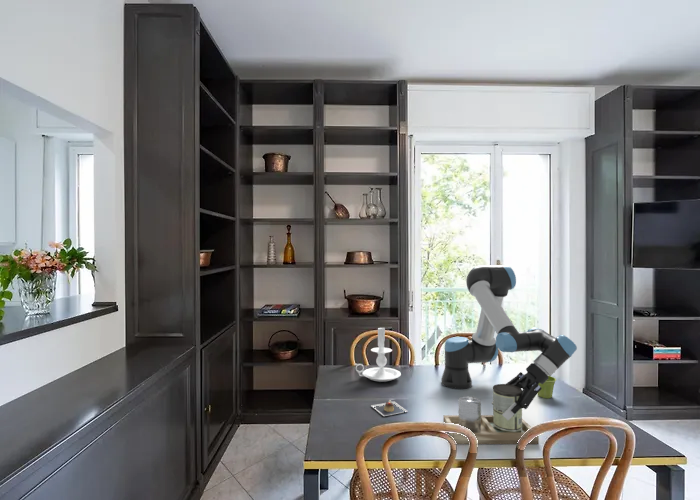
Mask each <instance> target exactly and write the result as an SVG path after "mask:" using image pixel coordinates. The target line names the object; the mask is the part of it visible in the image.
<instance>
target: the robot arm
mask: <svg viewBox="0 0 700 500" xmlns="http://www.w3.org/2000/svg"><path fill="white" fill-rule="evenodd" d="M465 281H466V283H465V284H466V288H467V290H468V292H469V294H470V295H471V296H473V297H474V298H475V299H476V300H477V303H478V304H479V306H480V308H481V310H480V314H479V317H478V323H477V327H476V331H475V332H473V333H472V335H471V339H468V337H465V336H453V337H449V338H447V339H446V340H445V342H444V370H443V373H442V375H441V382H440V383H441V385H442V386H445V387H447V388H449V389H457V390H464V389H469V388H472V386H473V380H472V377H471V374H470V372H469V371H470V370H469V364H478V363H484V364H486V363H490V362H494V361H495V360H496V359H497V358H498V356H499V351H500V352H503V353H515V352H534V351H535V352H536V351H537V352H538V351H539V352H541V353H539V355H538V356H537V357H536V358H535V359H534V360H533V362H531V363H530V364H529V365H528V366H527V367H526V368H525V370H526V373H525V374H524V373H523V372H522V371H521V372H519V373H517V375H516V376H514V377H513V378H512V379H511V380H509V381H508V382H507V383H505V384H509V385H514V386H517V387H519V388H521V389H522V392H521V394H520V396H519V398H518V401H515V402H516V403H517V404H516V403H515V402H514V403H513V404H512V405H511V406H510V407H509V408H508V409H507V410H506V411H505V412H504V413H503V414H502V415H503V416H504V417H505V418H506V419H507V420H509V419H510V418H511V417H512V416H513V415H514V414H516V413H517V412H518V411H519V410H520V409H521V408H522V409H524V410H527V409H529V406H530V405H531V404H532V402H533V400H534V399H535V398H536V396H538V394H537V393H538V392H539V391H540V390H541V389H542V388H541V387H540V386H539V385H538V384H539V383H540V384H544V383H545V382H546V381H547V380H548V379H549V377H548V376H551V377H552V375H554V374H556V372H557V370H558V369H559V368H561V367H562V365H563V364H564V363H565V362H567V361H568V360H569V359H570V358H571V357H572V356H573V354H574V353H575V352H576V351H577V349H578V347H577V345H576V344H575V342H574V341H573V340H572V339H571V338H569V337H568V336H566V335H564V334H559V335H558V336H556V337H554V335H551V334H550V333H548V332H546V331H545V330H544V329H541V328H539V327H531V328H530V329H528V330H527V331H519V330H518V329H517V328H516V326H515V325H514V323H513V321H511V318H510V317H509V315H508V314H507V313H506V312H505V310H504V308H503V307H502V305H503V299H504V298H506V297H507V296H508V293H509V290H511V291H512V290H513V289H515V287H516V284H517V277H516V274H515V271H514V269H513V268H512V267H511V266H509V265H502V264H499V265H485V264H484V265H477V266H474V267H473V268H472V269H470V271H469V272H468V274H467V275H466V280H465ZM495 333H496V337H494V336H495ZM491 405H493V401H492V402H491Z"/></svg>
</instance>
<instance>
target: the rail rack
mask: <svg viewBox="0 0 700 500" xmlns="http://www.w3.org/2000/svg"><path fill="white" fill-rule="evenodd" d="M443 422H445V423H454V424H459V414H453V415H449V414H448V415H443ZM531 427H532V426H531V425H530V424H529V423H528V422H527V421H526V420H525V419H524V418H522V430H520V431H518V432H507V431H503V430H500V429H498V428H496V427H495V426H494V425H493V414H492V415H491V414H490V415H489V414H487V415H486V414H481V432H480V433H474V434H475V436H476V438H477V440H478V444H477V445H518V444H517V442H518V440H519V439H520V438H521V436H522V435H523V434H524V433H525V432H526V431H527V430H528V429H530V428H531ZM448 435H449V436H450V435H451V436H452V437H453V438H454V440H455V441H456V443H457V444H456V445H470V444H469V441H468V439H467V437H465V436H463V435H461V434H457V433H448ZM539 437H540V435H539V436H537V437H535V438H534V439H533V440H532V441H531V442H530V443H529V444H528V445H539V444H540V443H539V442H540V441H539V440H540V438H539Z"/></svg>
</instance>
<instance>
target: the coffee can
mask: <svg viewBox="0 0 700 500" xmlns="http://www.w3.org/2000/svg"><path fill="white" fill-rule="evenodd" d="M522 390H523V389H522V388H519V387H517V386H514V385H509V384H506V383H499V384H494V385H492V402H493V404H492V409H493V411H492V412H493V413H492V415H493V425H494V426H495V427H496V428H498V429H500V430H503V431H507V432H518V431H520V430H522V419H523V408H521V409H520V410H519V411H518V412H517V413H516V414H514V415H513V416H512V417H511V418H510V419H509V420H507V419H506V418H505V417H504V416H503V415H502V414H503V413H504V412H505V411H506V410H507V409H508V408H509V407H510V406H511V405H512V404H513V403H514V402H515V401H518V398H519V396H520V394H521V392H522ZM515 403H516V402H515ZM516 404H517V403H516Z"/></svg>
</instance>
